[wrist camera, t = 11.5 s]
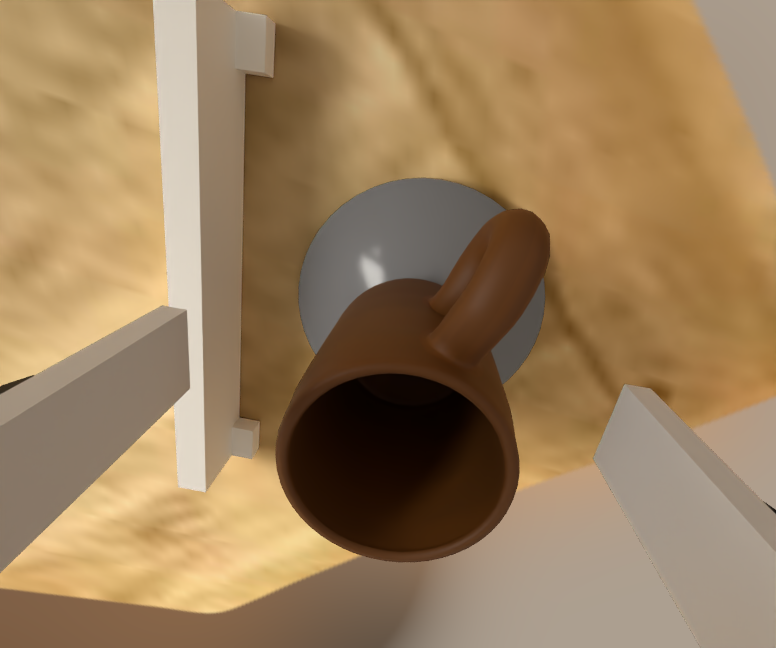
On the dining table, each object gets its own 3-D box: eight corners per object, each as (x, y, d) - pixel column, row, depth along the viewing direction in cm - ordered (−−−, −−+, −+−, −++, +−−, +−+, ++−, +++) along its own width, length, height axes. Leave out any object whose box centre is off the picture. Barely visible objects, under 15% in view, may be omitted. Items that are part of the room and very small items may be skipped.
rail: (195, 436, 25) (155, 482, 22) (183, 9, 17) (115, -34, 14) (258, 448, 25) (228, 496, 22) (275, 23, 17) (232, -17, 13)
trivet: (295, 383, 23) (291, 390, 23) (312, 158, 19) (307, 158, 18) (506, 422, 23) (508, 431, 22) (573, 200, 18) (579, 201, 18)
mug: (419, 154, 18) (406, 141, 9) (571, 236, 18) (699, 300, 9) (314, 371, 22) (235, 506, 13) (439, 432, 23) (442, 600, 14)
